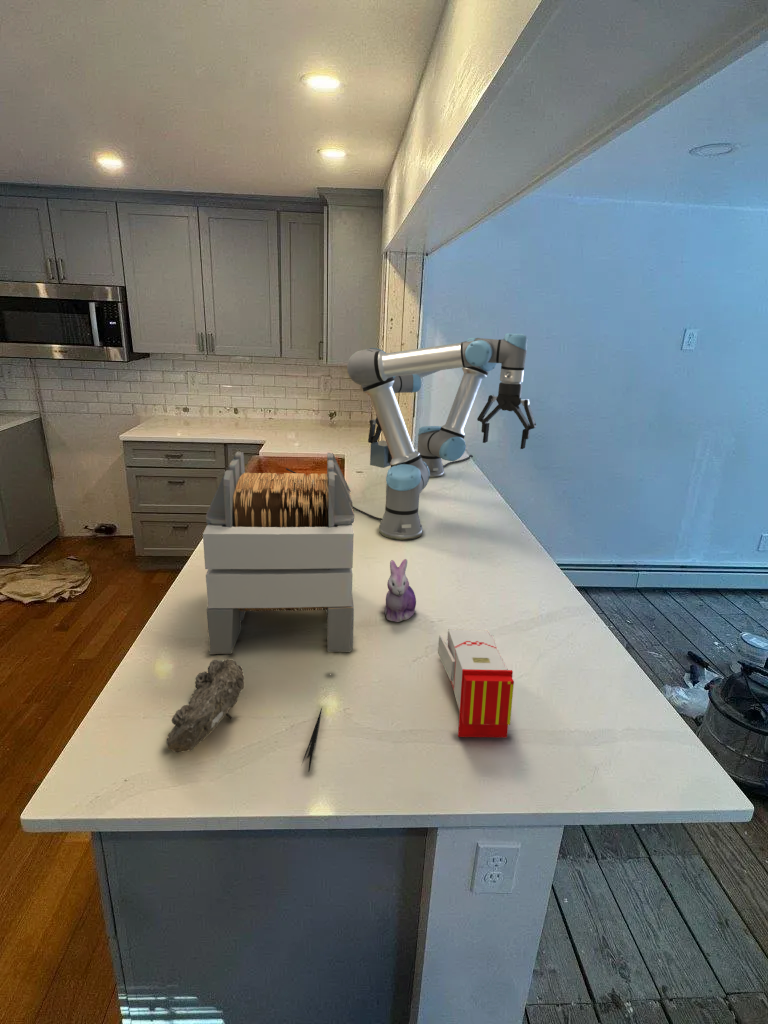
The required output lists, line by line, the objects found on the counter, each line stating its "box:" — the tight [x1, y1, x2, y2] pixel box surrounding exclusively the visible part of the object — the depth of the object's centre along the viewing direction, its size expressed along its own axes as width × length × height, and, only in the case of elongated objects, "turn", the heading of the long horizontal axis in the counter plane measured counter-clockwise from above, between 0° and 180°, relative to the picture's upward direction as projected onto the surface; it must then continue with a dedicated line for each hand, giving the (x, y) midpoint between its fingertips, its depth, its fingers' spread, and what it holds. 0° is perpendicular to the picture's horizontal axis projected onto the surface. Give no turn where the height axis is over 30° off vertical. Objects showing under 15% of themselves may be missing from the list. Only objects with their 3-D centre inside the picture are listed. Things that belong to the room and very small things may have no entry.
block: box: [369, 439, 391, 469], centre depth 243 cm, size 7×9×9 cm
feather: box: [301, 673, 332, 771], centre depth 108 cm, size 2×28×2 cm
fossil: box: [166, 658, 245, 754], centre depth 106 cm, size 22×10×15 cm
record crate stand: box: [202, 451, 355, 655], centre depth 137 cm, size 34×33×41 cm
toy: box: [437, 628, 515, 738], centre depth 117 cm, size 12×13×30 cm
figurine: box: [384, 558, 417, 623], centre depth 145 cm, size 9×10×15 cm
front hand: (503, 445), depth 195 cm, fingers open, 13 cm apart
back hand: (382, 460), depth 244 cm, fingers closed on block, 7 cm apart
